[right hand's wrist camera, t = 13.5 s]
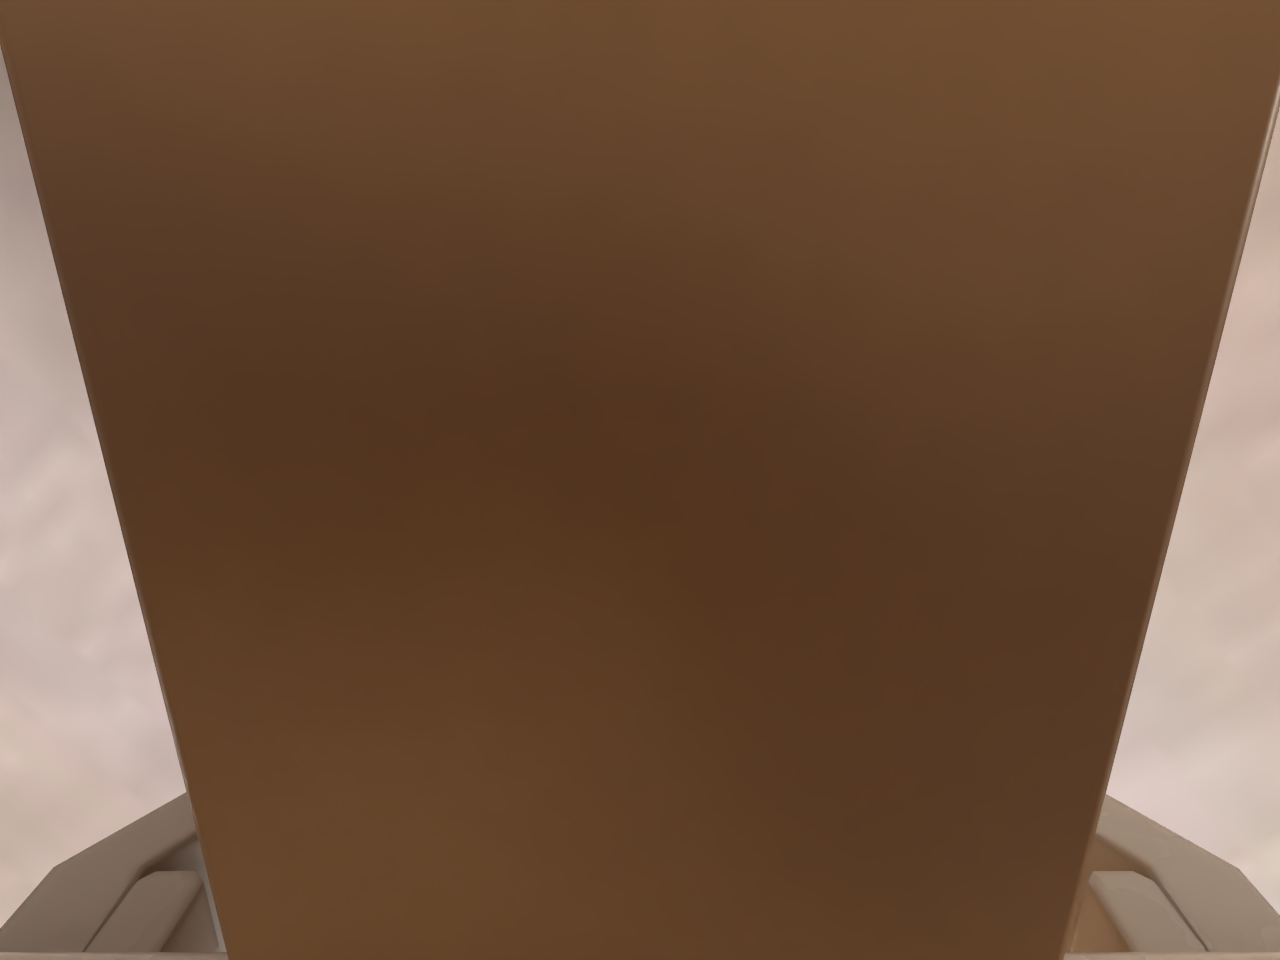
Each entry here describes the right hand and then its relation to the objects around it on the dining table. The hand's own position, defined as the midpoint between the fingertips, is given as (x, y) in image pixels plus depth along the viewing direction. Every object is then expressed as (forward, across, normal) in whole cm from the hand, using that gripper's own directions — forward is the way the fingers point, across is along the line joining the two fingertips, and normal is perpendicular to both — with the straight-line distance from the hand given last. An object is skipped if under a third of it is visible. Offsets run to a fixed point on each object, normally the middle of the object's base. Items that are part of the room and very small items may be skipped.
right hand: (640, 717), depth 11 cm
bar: (+3, 0, -9) cm, 10 cm away
